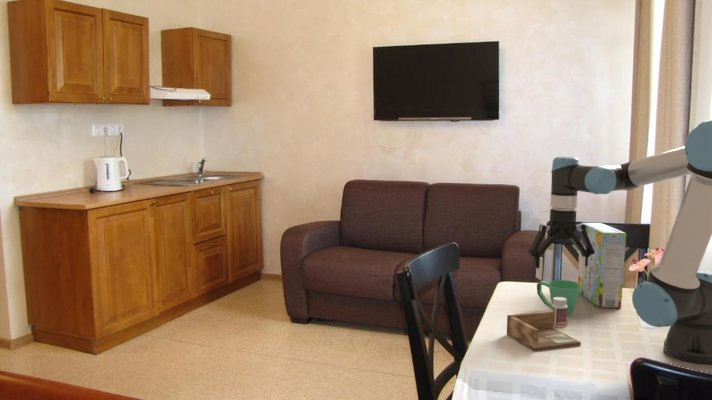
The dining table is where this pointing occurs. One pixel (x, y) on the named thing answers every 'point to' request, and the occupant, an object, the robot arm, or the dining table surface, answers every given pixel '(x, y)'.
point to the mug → (561, 292)
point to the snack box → (604, 266)
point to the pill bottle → (559, 311)
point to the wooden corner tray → (538, 331)
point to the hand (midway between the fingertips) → (560, 277)
